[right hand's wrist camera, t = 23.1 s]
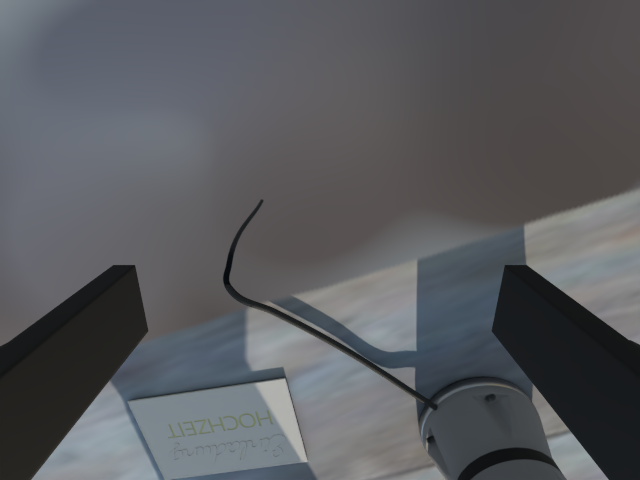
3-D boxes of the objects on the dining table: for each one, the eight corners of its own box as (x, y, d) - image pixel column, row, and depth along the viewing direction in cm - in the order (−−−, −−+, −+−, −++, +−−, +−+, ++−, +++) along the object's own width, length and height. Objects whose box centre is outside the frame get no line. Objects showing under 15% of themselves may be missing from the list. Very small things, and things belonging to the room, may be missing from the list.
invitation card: (285, 379, 44) (307, 462, 49) (285, 377, 44) (307, 460, 49) (127, 402, 45) (164, 480, 51) (128, 400, 46) (165, 479, 51)
